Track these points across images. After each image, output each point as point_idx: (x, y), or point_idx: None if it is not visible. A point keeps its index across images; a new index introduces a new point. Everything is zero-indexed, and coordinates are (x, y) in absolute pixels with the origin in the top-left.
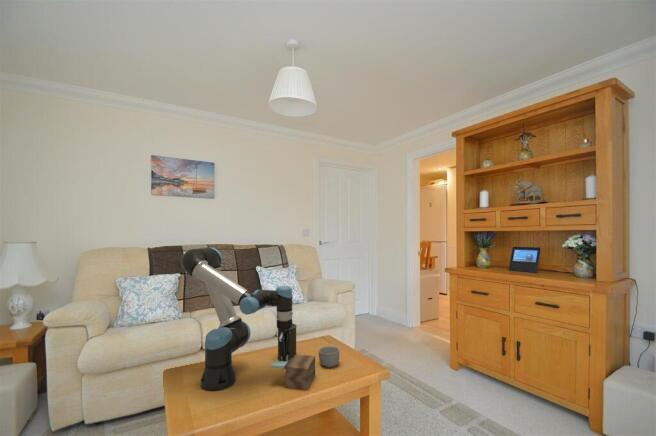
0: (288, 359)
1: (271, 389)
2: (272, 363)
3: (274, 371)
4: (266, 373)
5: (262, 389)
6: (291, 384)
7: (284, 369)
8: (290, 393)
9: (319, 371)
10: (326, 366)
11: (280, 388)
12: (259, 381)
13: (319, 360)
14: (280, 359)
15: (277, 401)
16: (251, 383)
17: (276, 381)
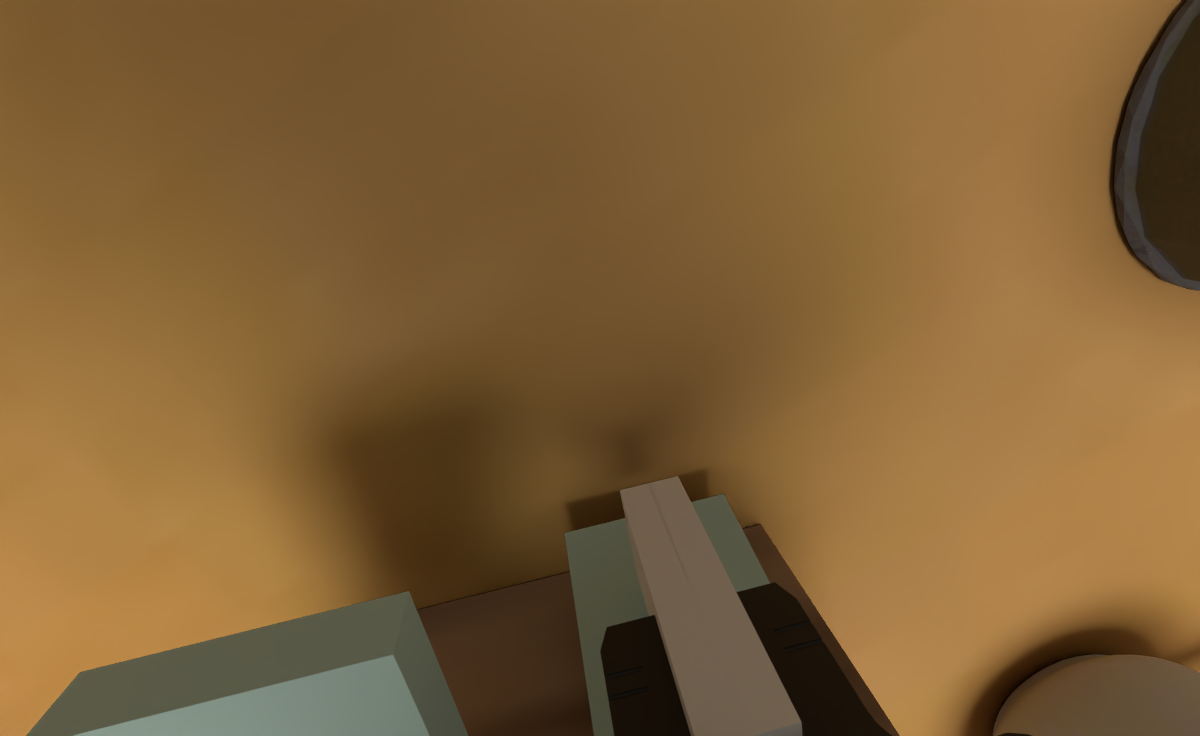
0: (1169, 229)
1: (207, 499)
2: (159, 724)
3: (742, 198)
4: (624, 97)
5: (111, 385)
6: None
7: (629, 536)
8: None
9: (886, 704)
10: (995, 733)
11: (308, 580)
12: (295, 164)
13: (1091, 695)
14: (1186, 58)
15: (21, 717)
16: (133, 54)
17: (449, 427)
